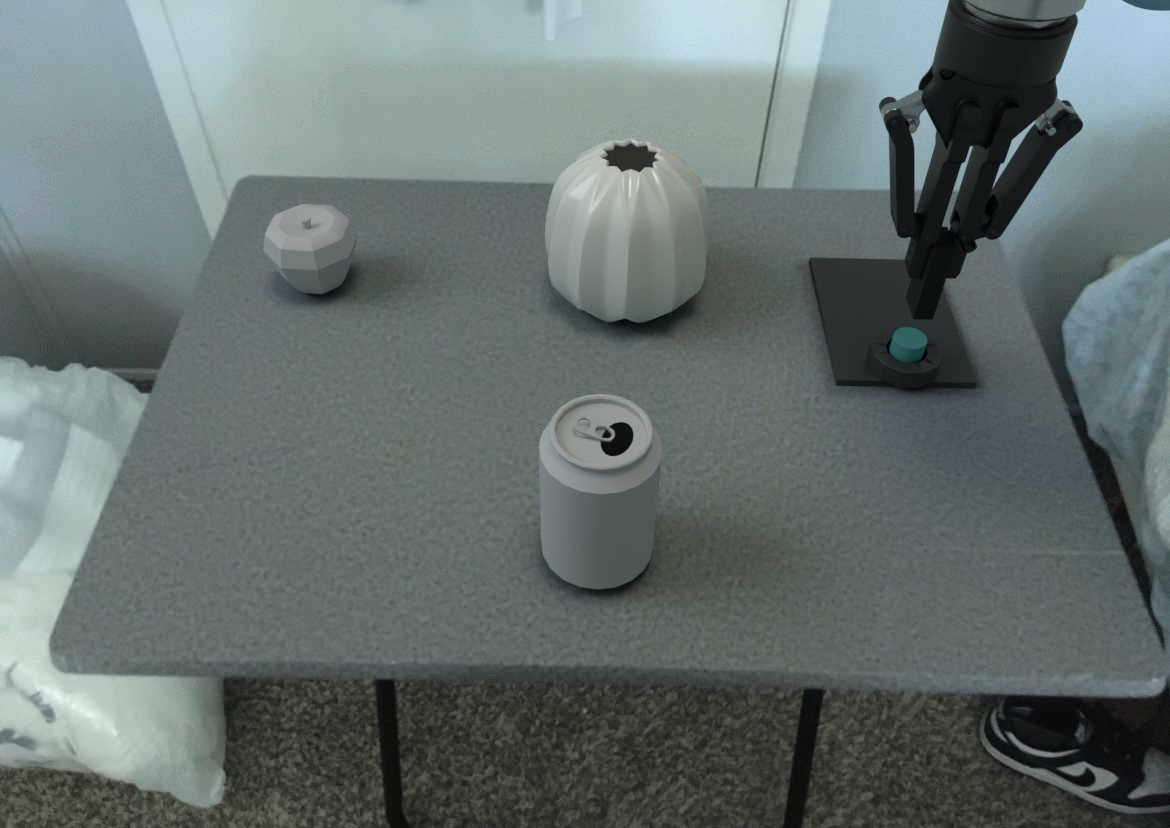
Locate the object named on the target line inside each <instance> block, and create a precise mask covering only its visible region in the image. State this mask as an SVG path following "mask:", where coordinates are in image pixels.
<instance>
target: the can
mask: <svg viewBox="0 0 1170 828" xmlns="http://www.w3.org/2000/svg"><path fill="white" fill-rule="evenodd" d="M663 449H664V447H663V443H662V440H661V436H660V433H659V432H658V430H657V429H656V428H655V427H654V425H653V423H652V419H651V418H650V417H649V415H648V414H647V412H646V411H645V410H644V409H643V408H642V407H641V406H639V405H637V404H636V403H635V402H633V401H632V400H630V399H627V398H624V397H622V396H619V395H613V394H607V393H606V394H605V393H596V394H587V395H586V394H585V395H582V396H580V397H576V398H573V399H571V400H570V401H567V402H566V403H565V404H563V405H562V406H560V407H559V408H558V409H557V411H556V412H555V413H554V414H553V415H552V417H551V420H550V421H549V423H548V424H547V425H546V427H545V428H544V429H543V431H542V433H541V435H540V440H539V443H538V471H539V472H538V474H539V476H538V478H539V510H540V511H539V512H540V543H541V550H542V551H541V552H542V556H543V558H544V560H545V562H546V564H547V566H548V567H549V569H550V570H551V571H553V572H554V573H555V575H557V576H558V577H559V578H560V579H562V580H563V581H565V582H567V583H570V584H572V585H573V586H574V585H575V586H576V587H579V588H583V589H584V588H585V589H592V590H605V589H614V588H618V587H620V586H622V585H625V584H628V583H629V582H631V581H633V580H635V578H637V577H638V576H639V575H640V574H641V573H642V572H644V571H645V569H646V567H647V566H648V564H649V562H650V561H651V559H652V557H653V556H652V555H653V550H654V549H653V548H654V541H655V532H656V531H655V530H656V521H657V510H658V501H659V490H660V480H661V473H662V472H661V471H662V461H663V451H664V450H663Z"/></svg>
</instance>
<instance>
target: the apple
mask: <svg viewBox="0 0 1170 828" xmlns="http://www.w3.org/2000/svg"><path fill="white" fill-rule="evenodd" d="M358 236H359V234H358V233H357V230H356V229H355V227H354V225H353V223H352V221H351V219H350V218H348V216H346V215H344V214H343V213H342V212H341V211H340V210H339V209H337V208H336V207H335V206H334V205H331V204H315V203H314V204H313V203H300V204H298V205H295V206H293V207H291V208H288V209H286V210H285V209H284V210H283V211H281V212H278V213H276V214H274V215H273V217H272V218H271V221H270V223H269V225H268V227H267V229H266V231H265V233H264V235H263V237H264V238H263V248H262V251H263V253H264V254H265V256H266V258H267V259H268V261H270V263H271V265H272V266H273V267H274V269H275V270H276V271H277V272H278V273H279V274H280V275H281V277H283V278H284V279H285V280H286V281H287V282H288V283H289V284H290V285H291V286H292V287H293V288H294V289H296V290H297V291H298V292H300V293H303V294H312V295H324V294H326V293H328V292H330V291H333V290H335V289H337V288H338V287H340V286H341V285H342V284H343V283H344V281H345V279H346V277H347V275H348V273H349V271H350V268H351V264H352V262H353V259H354V256H355V253H356V252H355V251H356V246H357V242H358Z"/></svg>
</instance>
